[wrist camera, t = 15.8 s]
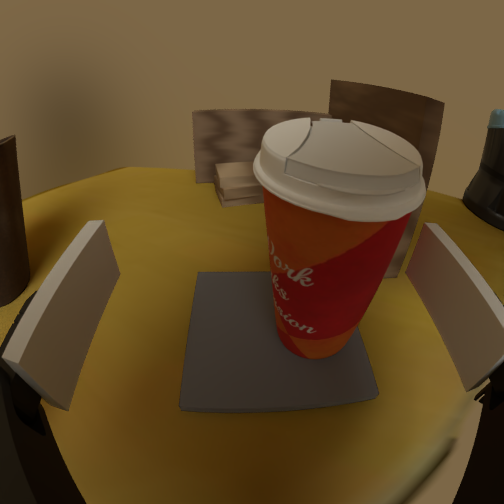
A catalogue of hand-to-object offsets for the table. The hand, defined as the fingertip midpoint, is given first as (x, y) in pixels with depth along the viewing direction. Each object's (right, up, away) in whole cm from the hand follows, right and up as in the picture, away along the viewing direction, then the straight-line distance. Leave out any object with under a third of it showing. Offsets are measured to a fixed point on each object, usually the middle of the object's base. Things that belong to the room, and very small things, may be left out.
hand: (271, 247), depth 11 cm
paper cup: (+4, -6, +9) cm, 12 cm away
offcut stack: (0, +8, +31) cm, 32 cm away
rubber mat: (+1, -6, +10) cm, 12 cm away
